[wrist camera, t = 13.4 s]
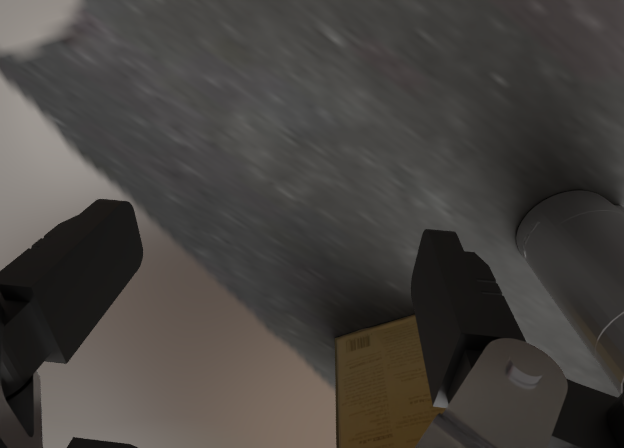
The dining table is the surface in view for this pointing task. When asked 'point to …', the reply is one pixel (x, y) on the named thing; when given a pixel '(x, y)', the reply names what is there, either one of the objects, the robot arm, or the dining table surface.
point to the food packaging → (382, 387)
